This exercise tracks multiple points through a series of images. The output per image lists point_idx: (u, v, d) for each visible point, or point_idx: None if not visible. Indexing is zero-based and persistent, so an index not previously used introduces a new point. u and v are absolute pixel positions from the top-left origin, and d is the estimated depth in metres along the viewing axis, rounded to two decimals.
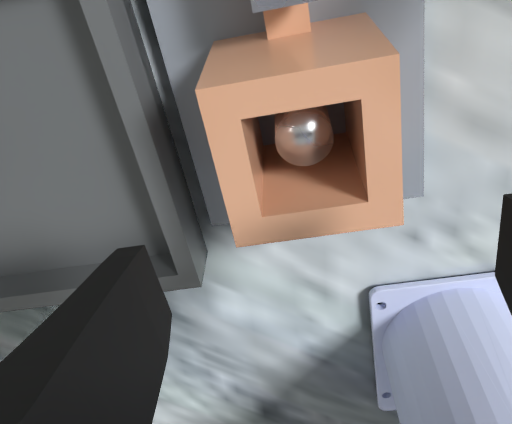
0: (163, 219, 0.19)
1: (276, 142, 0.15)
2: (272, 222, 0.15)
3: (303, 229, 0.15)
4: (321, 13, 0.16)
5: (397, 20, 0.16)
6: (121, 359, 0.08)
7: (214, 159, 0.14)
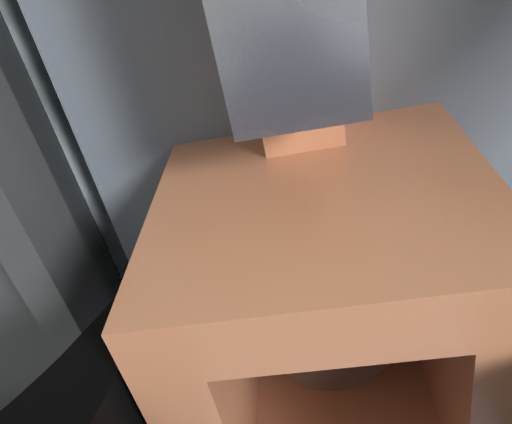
0: None
1: None
2: None
3: None
4: None
5: (494, 115, 0.09)
6: None
7: None
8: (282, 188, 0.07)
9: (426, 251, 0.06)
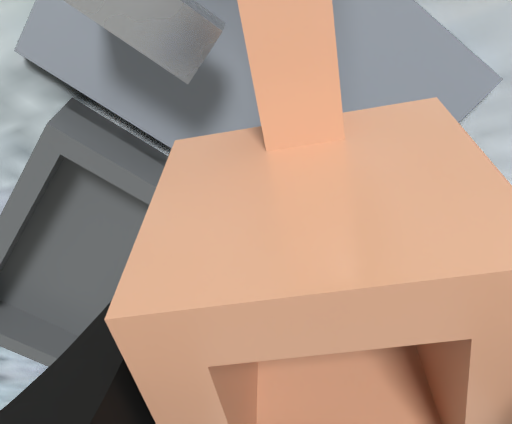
0: None
1: None
2: None
3: None
4: None
5: None
6: None
7: None
8: (282, 180, 0.08)
9: (423, 238, 0.06)
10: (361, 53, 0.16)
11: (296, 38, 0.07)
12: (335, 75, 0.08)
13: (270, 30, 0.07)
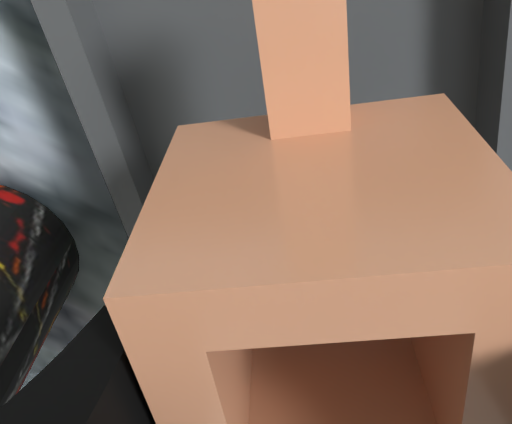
0: None
1: None
2: None
3: None
4: None
5: None
6: None
7: (151, 409, 0.07)
8: (286, 168, 0.07)
9: (430, 229, 0.06)
10: None
11: (307, 24, 0.07)
12: (344, 64, 0.08)
13: (282, 15, 0.07)
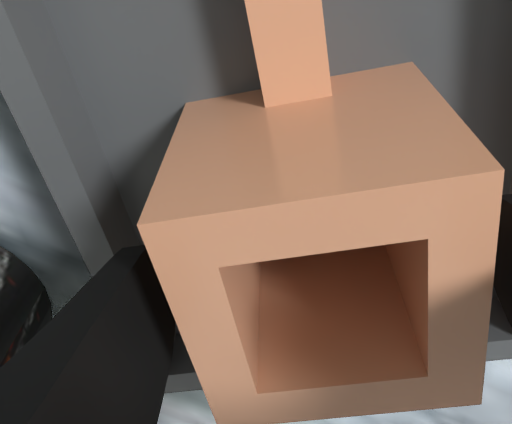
0: None
1: None
2: (274, 399, 0.09)
3: (322, 408, 0.09)
4: None
5: None
6: (126, 359, 0.08)
7: (177, 322, 0.08)
8: (278, 127, 0.09)
9: (389, 160, 0.07)
10: None
11: (289, 7, 0.09)
12: (322, 39, 0.09)
13: (267, 1, 0.09)
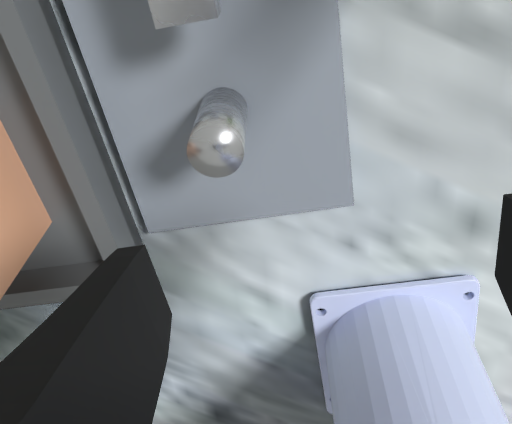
0: (93, 227, 0.19)
1: (188, 154, 0.15)
2: None
3: None
4: (238, 27, 0.16)
5: (314, 34, 0.16)
6: (120, 359, 0.08)
7: None
8: None
9: None
10: (287, 114, 0.18)
11: None
12: None
13: None
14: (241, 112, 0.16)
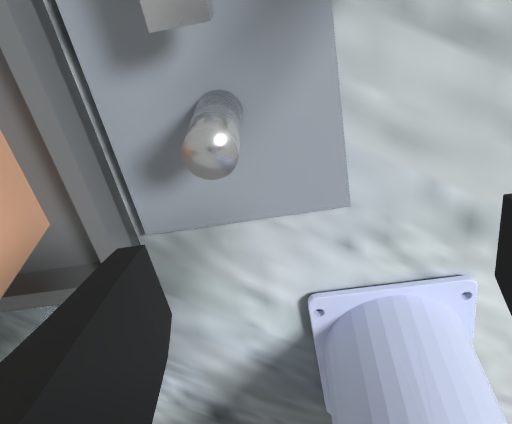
0: (90, 229, 0.19)
1: (183, 157, 0.15)
2: None
3: None
4: (233, 30, 0.16)
5: (308, 36, 0.16)
6: (120, 359, 0.08)
7: None
8: None
9: None
10: (282, 115, 0.18)
11: None
12: None
13: None
14: (236, 114, 0.17)
